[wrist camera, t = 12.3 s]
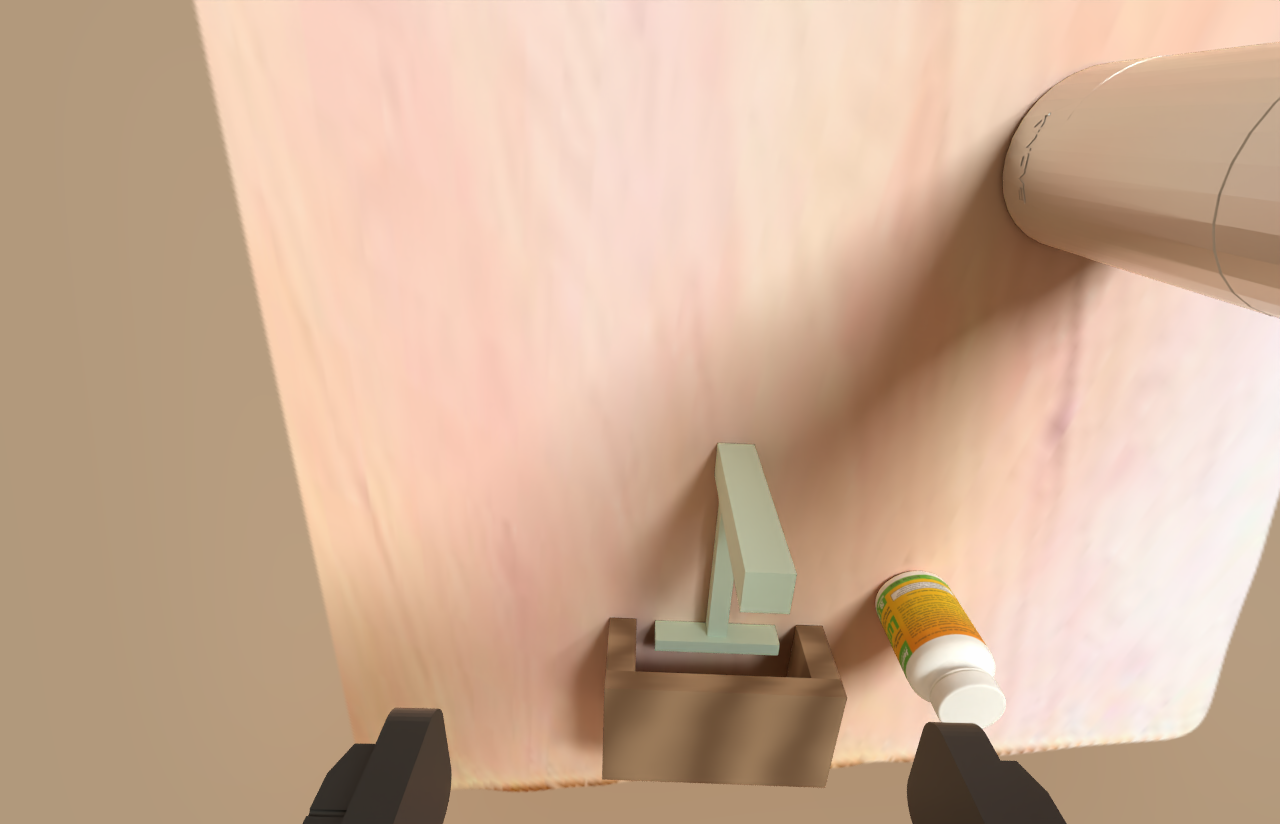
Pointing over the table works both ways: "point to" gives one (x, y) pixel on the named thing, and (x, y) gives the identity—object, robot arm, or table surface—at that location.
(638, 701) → the wooden arch
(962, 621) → the supplement bottle
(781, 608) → the rake
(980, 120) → the table surface
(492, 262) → the table surface
